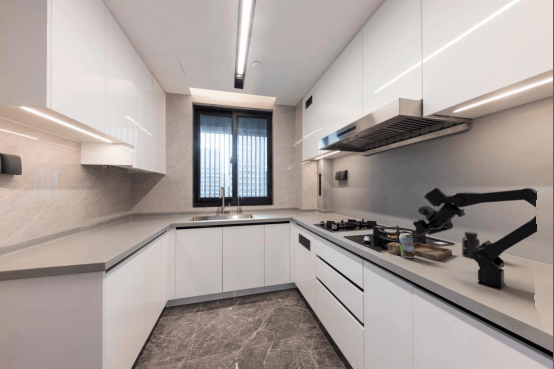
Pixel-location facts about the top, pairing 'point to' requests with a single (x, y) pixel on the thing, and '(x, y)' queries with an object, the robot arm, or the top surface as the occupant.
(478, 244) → the supplement bottle
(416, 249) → the tray
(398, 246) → the letter block
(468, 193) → the robot arm
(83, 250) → the top surface
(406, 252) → the beverage can
